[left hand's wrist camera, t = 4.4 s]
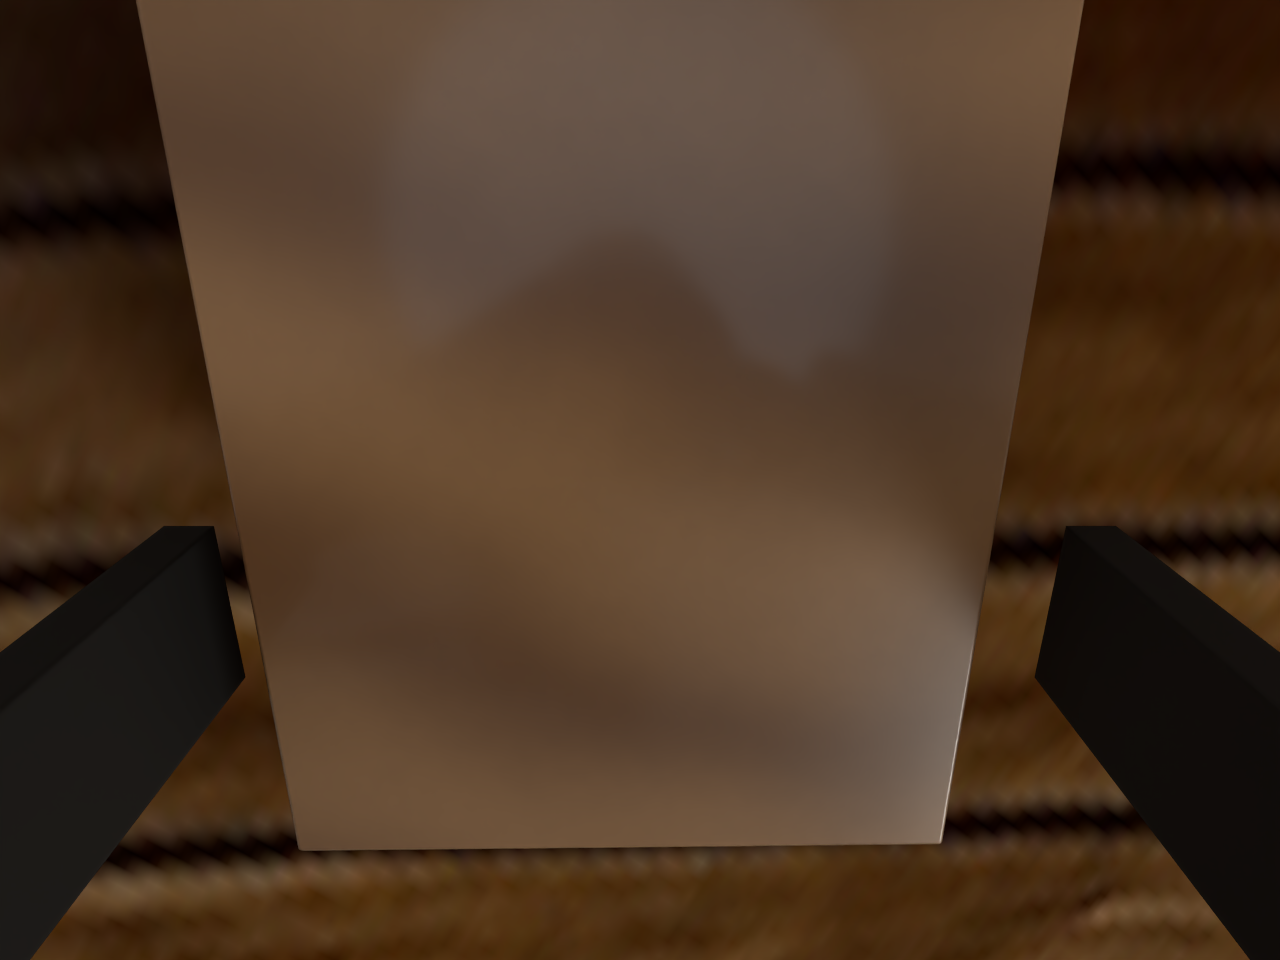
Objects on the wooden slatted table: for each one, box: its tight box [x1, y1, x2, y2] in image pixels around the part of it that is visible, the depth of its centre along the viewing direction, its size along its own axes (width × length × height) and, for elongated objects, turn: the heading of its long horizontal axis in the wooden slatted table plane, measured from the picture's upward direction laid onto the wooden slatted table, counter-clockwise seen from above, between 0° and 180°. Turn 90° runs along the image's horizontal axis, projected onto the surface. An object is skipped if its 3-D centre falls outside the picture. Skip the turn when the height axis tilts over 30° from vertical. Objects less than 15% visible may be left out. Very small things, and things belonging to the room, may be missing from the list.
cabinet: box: [136, 0, 1084, 851], centre depth 13 cm, size 19×10×8 cm, turn 0°
